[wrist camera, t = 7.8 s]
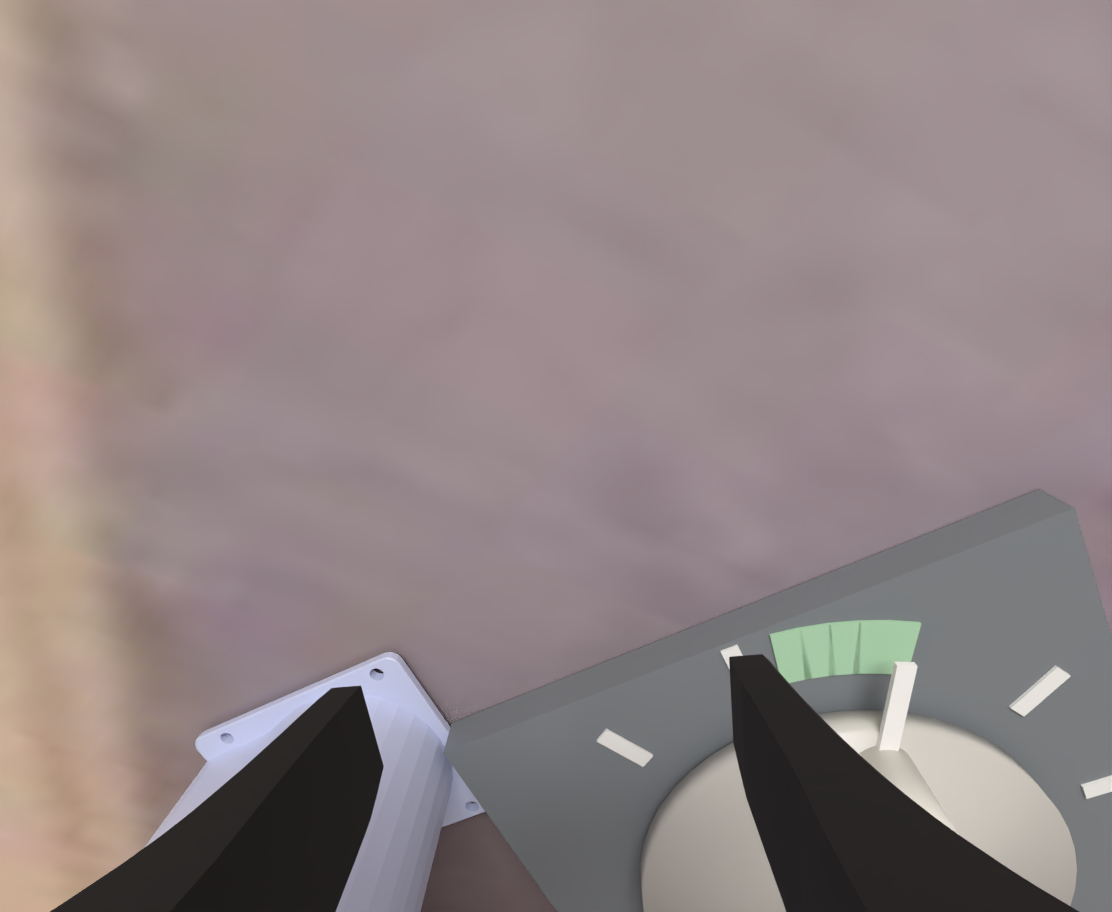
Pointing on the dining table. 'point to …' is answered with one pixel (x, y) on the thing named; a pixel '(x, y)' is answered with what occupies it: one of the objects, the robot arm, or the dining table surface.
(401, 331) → the dining table surface
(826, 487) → the dining table surface
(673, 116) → the dining table surface
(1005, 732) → the tuner board
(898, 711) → the beige oval dome
